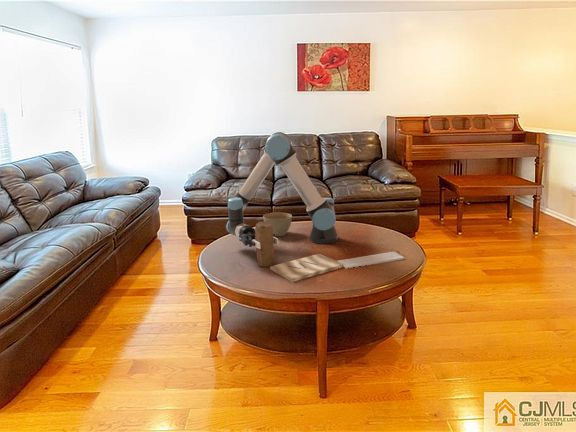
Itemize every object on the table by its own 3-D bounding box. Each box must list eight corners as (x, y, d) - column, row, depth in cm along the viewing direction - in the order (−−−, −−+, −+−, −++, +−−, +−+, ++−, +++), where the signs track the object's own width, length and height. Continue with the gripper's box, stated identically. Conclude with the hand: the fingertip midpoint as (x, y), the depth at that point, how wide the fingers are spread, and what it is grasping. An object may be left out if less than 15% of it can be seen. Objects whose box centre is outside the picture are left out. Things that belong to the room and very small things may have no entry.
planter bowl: (286, 239, 254) (285, 220, 251) (259, 237, 259) (258, 218, 257) (296, 231, 268) (295, 213, 266) (270, 229, 274) (269, 211, 271)
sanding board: (319, 256, 226) (319, 253, 226) (343, 267, 211) (343, 264, 211) (270, 269, 211) (270, 266, 211) (292, 281, 197) (292, 278, 196)
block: (275, 266, 215) (274, 225, 210) (259, 268, 213) (257, 226, 208) (270, 258, 225) (268, 219, 220) (255, 260, 223) (253, 220, 218)
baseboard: (334, 261, 220) (345, 270, 209) (334, 256, 219) (345, 264, 209) (390, 252, 230) (404, 260, 219) (391, 247, 229) (404, 254, 218)
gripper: (264, 235, 237) (288, 246, 219) (226, 244, 226) (248, 256, 208) (264, 221, 235) (288, 231, 217) (225, 229, 224) (247, 240, 206)
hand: (268, 243), depth 212 cm, fingers closed on block, 9 cm apart
